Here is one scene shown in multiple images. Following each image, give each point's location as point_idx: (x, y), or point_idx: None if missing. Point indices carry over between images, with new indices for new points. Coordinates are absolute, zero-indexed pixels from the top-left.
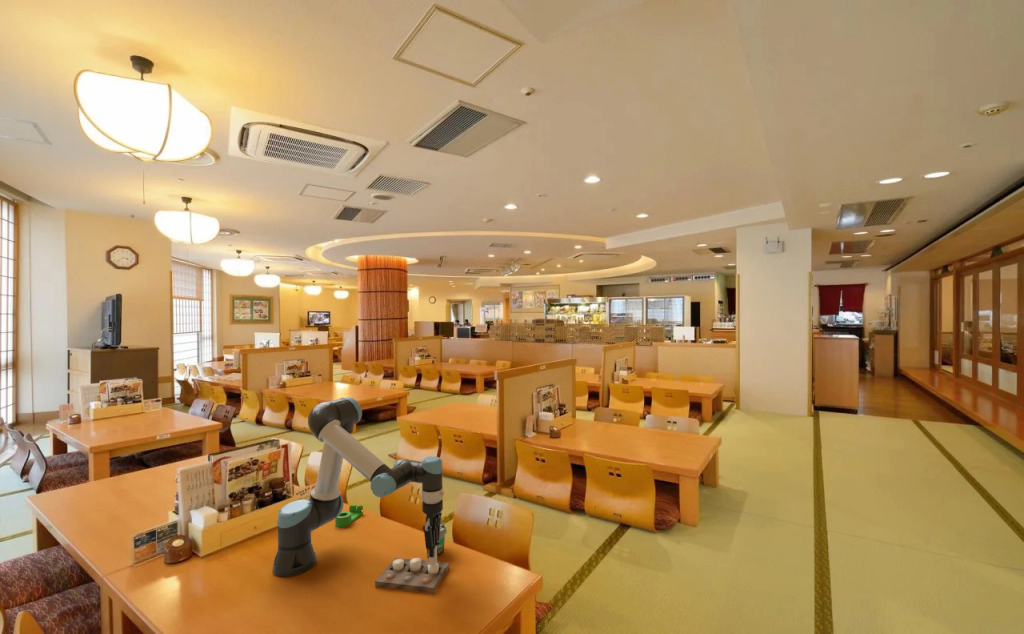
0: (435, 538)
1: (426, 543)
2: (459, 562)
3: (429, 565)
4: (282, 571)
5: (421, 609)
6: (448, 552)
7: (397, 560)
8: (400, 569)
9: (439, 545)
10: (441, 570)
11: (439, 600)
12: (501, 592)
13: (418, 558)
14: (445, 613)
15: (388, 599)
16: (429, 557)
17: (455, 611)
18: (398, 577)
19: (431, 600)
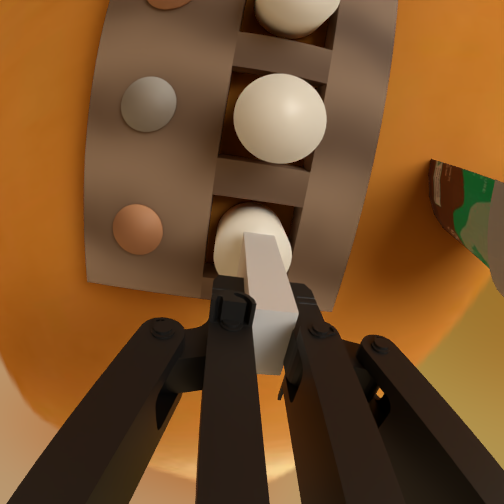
0: (295, 425)
1: (106, 382)
2: (368, 328)
3: (251, 231)
4: None
5: (6, 243)
6: (457, 260)
7: None
8: (264, 19)
9: (471, 248)
10: None
11: (66, 301)
12: (167, 452)
13: (315, 135)
14: (20, 329)
15: (37, 64)
16: (244, 262)
17: (39, 356)
18: (163, 37)
19: (57, 269)
